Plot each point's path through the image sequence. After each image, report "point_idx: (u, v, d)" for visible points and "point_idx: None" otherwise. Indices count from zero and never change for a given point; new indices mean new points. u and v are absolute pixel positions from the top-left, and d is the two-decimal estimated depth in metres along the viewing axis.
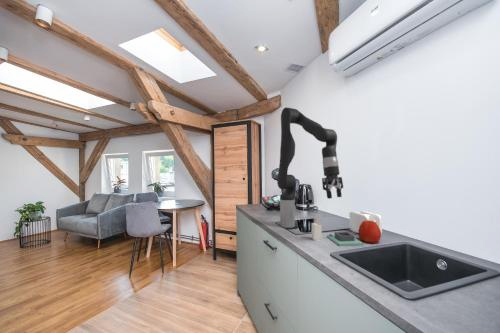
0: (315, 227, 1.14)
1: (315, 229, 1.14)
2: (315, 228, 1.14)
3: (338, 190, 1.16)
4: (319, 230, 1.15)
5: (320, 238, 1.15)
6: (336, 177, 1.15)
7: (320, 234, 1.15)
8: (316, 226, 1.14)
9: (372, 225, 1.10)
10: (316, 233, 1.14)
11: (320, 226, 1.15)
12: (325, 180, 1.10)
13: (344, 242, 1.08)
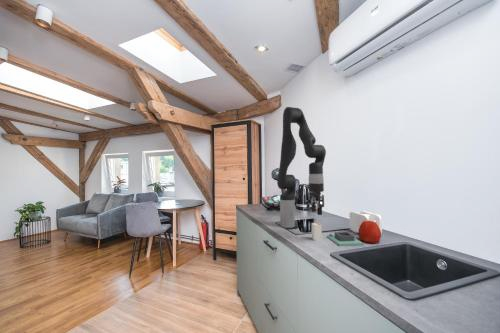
0: (315, 227, 1.14)
1: (315, 229, 1.14)
2: (315, 228, 1.14)
3: (313, 205, 1.21)
4: (319, 230, 1.15)
5: (320, 238, 1.15)
6: None
7: (320, 234, 1.15)
8: (316, 225, 1.14)
9: (372, 225, 1.10)
10: (316, 233, 1.14)
11: (320, 226, 1.15)
12: (322, 197, 1.10)
13: (344, 242, 1.08)
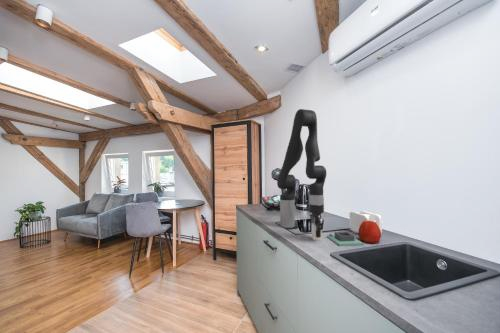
0: (315, 227, 1.14)
1: (315, 229, 1.14)
2: (315, 228, 1.14)
3: None
4: None
5: (320, 238, 1.15)
6: None
7: None
8: None
9: (372, 225, 1.10)
10: None
11: None
12: (322, 222, 1.10)
13: (344, 242, 1.08)
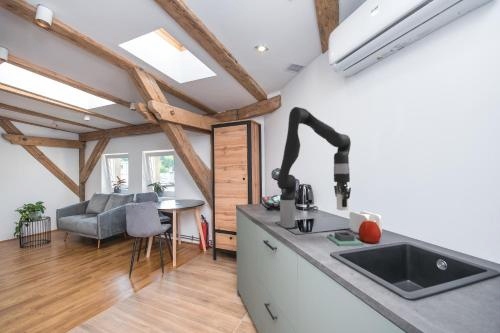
0: (341, 197, 1.11)
1: (341, 199, 1.11)
2: (341, 198, 1.11)
3: None
4: None
5: (346, 208, 1.11)
6: None
7: None
8: None
9: (372, 225, 1.10)
10: None
11: None
12: (349, 190, 1.07)
13: (344, 242, 1.08)
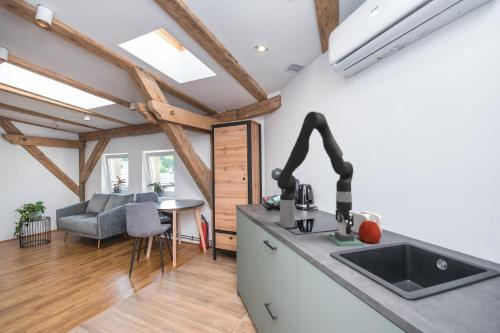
0: (343, 226, 1.11)
1: (343, 228, 1.11)
2: (343, 227, 1.11)
3: None
4: None
5: None
6: None
7: None
8: (344, 225, 1.12)
9: (372, 225, 1.10)
10: (344, 232, 1.12)
11: None
12: (352, 217, 1.07)
13: (344, 242, 1.08)
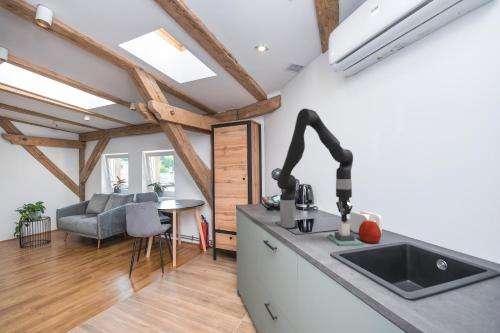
0: (343, 226, 1.11)
1: (343, 228, 1.11)
2: (343, 227, 1.11)
3: None
4: (347, 229, 1.12)
5: None
6: None
7: (348, 233, 1.12)
8: (344, 225, 1.12)
9: (372, 225, 1.10)
10: (344, 232, 1.12)
11: (348, 225, 1.12)
12: (350, 208, 1.08)
13: (344, 242, 1.08)
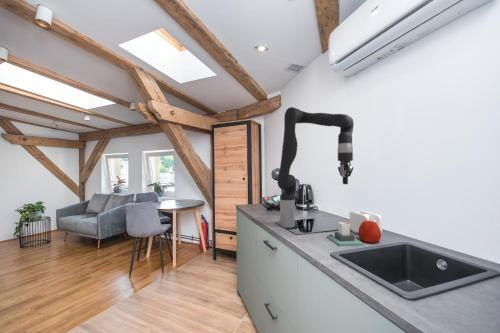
0: (343, 226, 1.11)
1: (343, 228, 1.11)
2: (343, 227, 1.11)
3: None
4: (347, 229, 1.12)
5: None
6: None
7: (348, 233, 1.12)
8: (344, 225, 1.12)
9: (372, 225, 1.10)
10: (344, 232, 1.12)
11: (348, 225, 1.12)
12: (351, 169, 1.14)
13: (344, 242, 1.08)
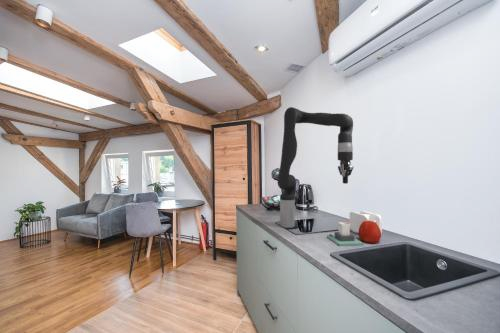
0: (343, 226, 1.11)
1: (343, 228, 1.11)
2: (343, 227, 1.11)
3: None
4: (347, 229, 1.12)
5: None
6: None
7: (348, 233, 1.12)
8: (344, 225, 1.12)
9: (372, 225, 1.10)
10: (344, 232, 1.12)
11: (348, 225, 1.12)
12: (351, 169, 1.15)
13: (344, 242, 1.08)
